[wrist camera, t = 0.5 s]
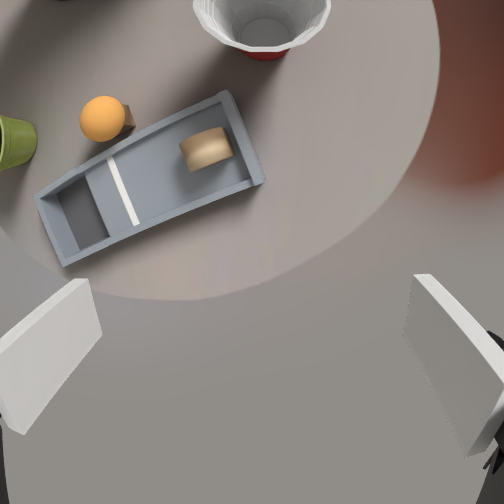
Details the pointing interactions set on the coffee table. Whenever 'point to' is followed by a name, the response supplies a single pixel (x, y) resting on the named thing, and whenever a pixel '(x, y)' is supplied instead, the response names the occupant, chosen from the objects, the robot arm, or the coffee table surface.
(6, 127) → the plant pot
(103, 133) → the ball
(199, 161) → the block
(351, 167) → the coffee table surface
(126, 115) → the small wooden crate
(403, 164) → the coffee table surface
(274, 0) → the plastic cup
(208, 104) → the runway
